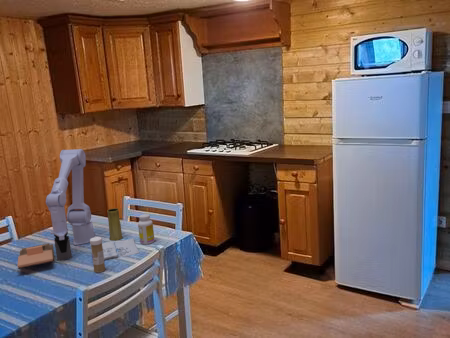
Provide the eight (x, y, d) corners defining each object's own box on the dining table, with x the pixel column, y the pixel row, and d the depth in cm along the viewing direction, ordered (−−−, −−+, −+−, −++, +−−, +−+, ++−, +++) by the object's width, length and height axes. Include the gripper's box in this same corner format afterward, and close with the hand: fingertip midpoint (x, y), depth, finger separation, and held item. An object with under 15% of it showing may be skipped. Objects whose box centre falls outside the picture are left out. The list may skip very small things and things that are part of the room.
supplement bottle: (156, 239, 198) (153, 213, 196) (152, 244, 192) (149, 217, 189) (142, 239, 199) (139, 213, 196) (138, 245, 193) (135, 218, 190)
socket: (53, 245, 198) (52, 239, 197) (54, 261, 180) (53, 253, 179) (20, 252, 193) (19, 245, 192) (18, 268, 175) (17, 261, 174)
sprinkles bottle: (91, 271, 168) (87, 239, 165) (101, 267, 171) (97, 235, 169) (98, 274, 165) (93, 241, 162) (108, 269, 168) (104, 237, 166)
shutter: (52, 251, 181) (50, 243, 181) (53, 260, 172) (51, 252, 171) (18, 257, 176) (17, 249, 176) (17, 267, 167) (16, 259, 166)
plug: (71, 254, 186) (68, 237, 185) (72, 257, 183) (69, 240, 181) (56, 257, 184) (54, 240, 182) (57, 260, 181) (54, 243, 179)
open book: (90, 248, 194) (90, 243, 193) (135, 240, 200) (134, 236, 200) (92, 264, 176) (91, 259, 176) (141, 255, 182) (140, 250, 182)
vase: (125, 236, 204) (121, 208, 201) (118, 241, 199) (114, 212, 196) (114, 235, 206) (110, 207, 203) (107, 240, 201) (103, 211, 198)
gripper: (48, 217, 185) (52, 246, 188) (49, 227, 172) (54, 258, 175) (65, 214, 188) (69, 243, 191) (67, 224, 175) (72, 254, 177)
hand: (63, 250), depth 183 cm, fingers closed on plug, 4 cm apart
